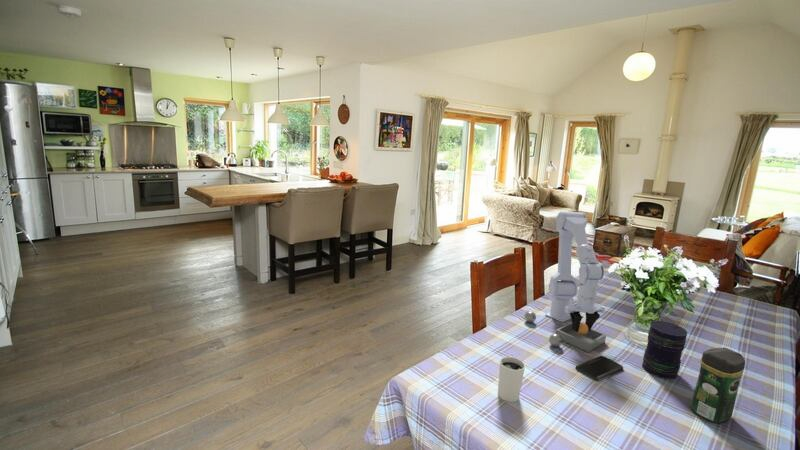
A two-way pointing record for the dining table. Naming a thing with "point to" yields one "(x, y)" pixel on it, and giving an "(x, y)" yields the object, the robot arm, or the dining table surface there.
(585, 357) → the dining table surface
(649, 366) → the storage jar
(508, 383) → the white cup
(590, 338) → the bin
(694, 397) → the coffee jar
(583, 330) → the orange ball
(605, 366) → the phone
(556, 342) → the steel ball
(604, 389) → the dining table surface
